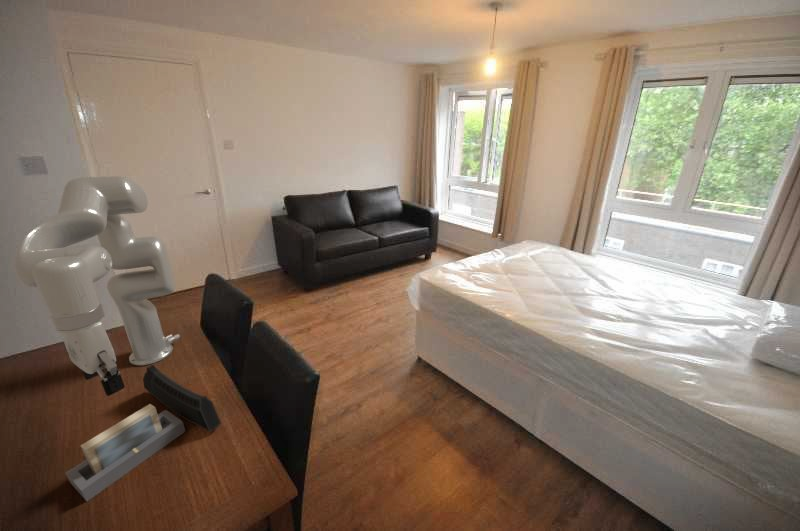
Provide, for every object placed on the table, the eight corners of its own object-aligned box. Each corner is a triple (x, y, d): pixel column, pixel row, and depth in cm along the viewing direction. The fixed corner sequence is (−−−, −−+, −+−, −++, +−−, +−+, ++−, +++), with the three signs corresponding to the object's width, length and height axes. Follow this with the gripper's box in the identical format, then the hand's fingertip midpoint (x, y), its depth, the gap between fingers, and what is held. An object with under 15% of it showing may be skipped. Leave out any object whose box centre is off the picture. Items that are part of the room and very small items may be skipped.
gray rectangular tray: (168, 419, 92) (165, 409, 91) (185, 431, 89) (182, 421, 87) (70, 483, 75) (65, 472, 74) (86, 501, 71) (81, 490, 70)
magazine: (222, 404, 86) (150, 344, 95) (210, 413, 83) (138, 350, 92) (220, 442, 94) (155, 384, 103) (210, 451, 91) (143, 390, 100)
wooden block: (158, 430, 88) (150, 403, 84) (164, 434, 86) (155, 407, 83) (93, 474, 76) (80, 445, 73) (98, 479, 75) (85, 450, 72)
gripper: (37, 313, 68) (66, 379, 74) (73, 338, 60) (103, 410, 67) (83, 299, 74) (106, 361, 81) (122, 320, 67) (144, 387, 73)
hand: (105, 383), depth 74 cm, fingers open, 9 cm apart
